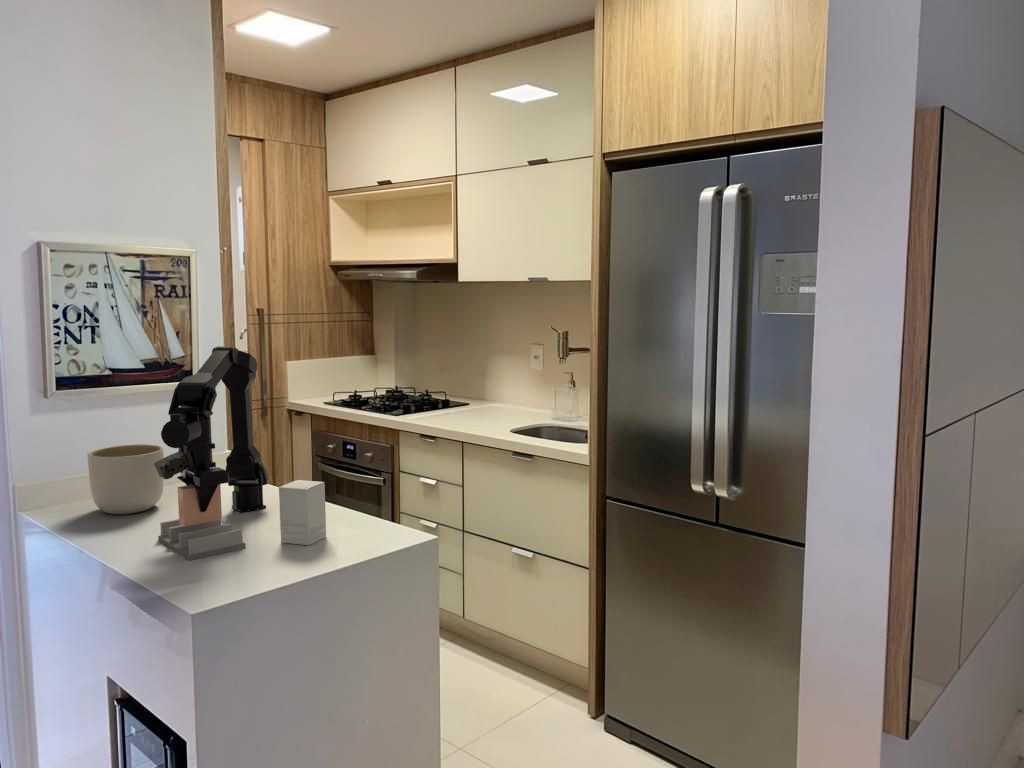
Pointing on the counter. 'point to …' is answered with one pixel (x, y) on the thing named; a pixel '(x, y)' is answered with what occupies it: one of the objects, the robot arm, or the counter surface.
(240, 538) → the dish rack
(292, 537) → the supplement box
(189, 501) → the tall clay brick
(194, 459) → the robot arm
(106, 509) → the planter
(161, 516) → the counter surface
